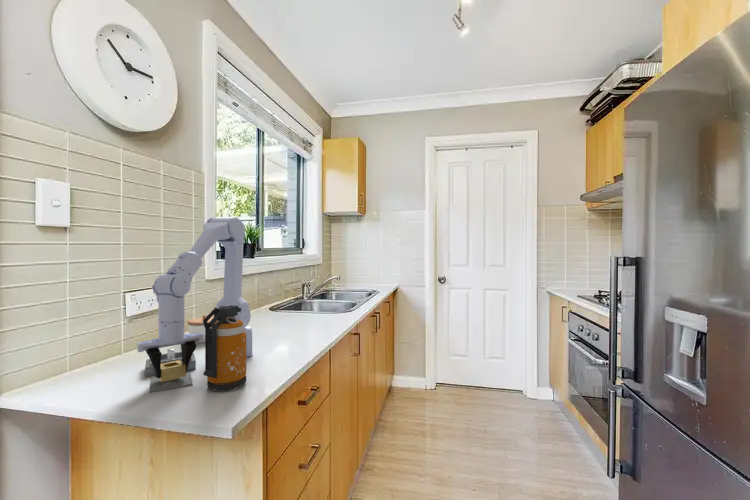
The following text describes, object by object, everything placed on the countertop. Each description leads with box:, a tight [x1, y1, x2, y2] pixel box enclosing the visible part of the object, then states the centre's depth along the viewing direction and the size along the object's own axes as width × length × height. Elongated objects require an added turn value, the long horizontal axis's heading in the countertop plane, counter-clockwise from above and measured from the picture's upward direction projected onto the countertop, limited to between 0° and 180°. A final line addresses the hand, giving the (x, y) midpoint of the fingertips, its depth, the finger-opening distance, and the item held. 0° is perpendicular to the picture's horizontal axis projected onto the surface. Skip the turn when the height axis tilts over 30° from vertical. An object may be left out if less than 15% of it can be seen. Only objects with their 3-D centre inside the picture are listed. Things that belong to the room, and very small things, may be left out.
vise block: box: [144, 348, 197, 378], centre depth 98 cm, size 12×8×6 cm, turn 121°
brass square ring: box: [158, 360, 187, 382], centre depth 88 cm, size 5×5×3 cm
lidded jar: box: [187, 314, 214, 344], centre depth 129 cm, size 11×11×9 cm
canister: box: [203, 306, 247, 392], centre depth 85 cm, size 9×11×20 cm
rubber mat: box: [149, 372, 194, 394], centre depth 88 cm, size 9×9×1 cm
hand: (171, 374), depth 88 cm, fingers closed on brass square ring, 5 cm apart
